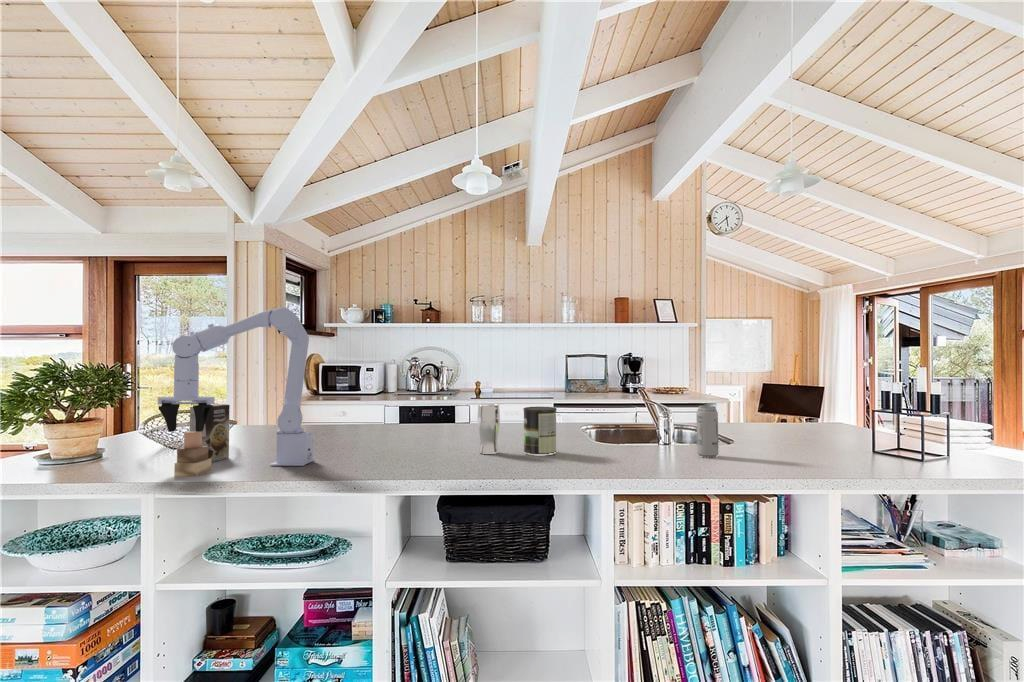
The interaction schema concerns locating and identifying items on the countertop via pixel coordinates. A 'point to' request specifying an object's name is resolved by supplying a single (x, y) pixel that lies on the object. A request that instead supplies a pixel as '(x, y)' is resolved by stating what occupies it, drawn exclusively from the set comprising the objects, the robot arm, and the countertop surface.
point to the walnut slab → (192, 455)
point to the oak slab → (192, 468)
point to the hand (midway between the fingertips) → (185, 431)
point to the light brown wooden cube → (192, 439)
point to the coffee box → (215, 431)
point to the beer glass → (488, 427)
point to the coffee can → (539, 430)
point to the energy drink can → (707, 431)
